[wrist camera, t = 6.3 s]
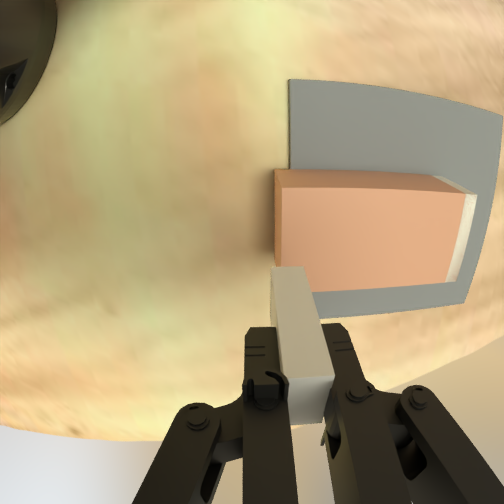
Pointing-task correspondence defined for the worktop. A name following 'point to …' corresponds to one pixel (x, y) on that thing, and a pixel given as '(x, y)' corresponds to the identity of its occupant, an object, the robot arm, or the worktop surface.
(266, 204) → the worktop surface
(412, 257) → the tall block
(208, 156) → the worktop surface
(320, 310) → the mat
